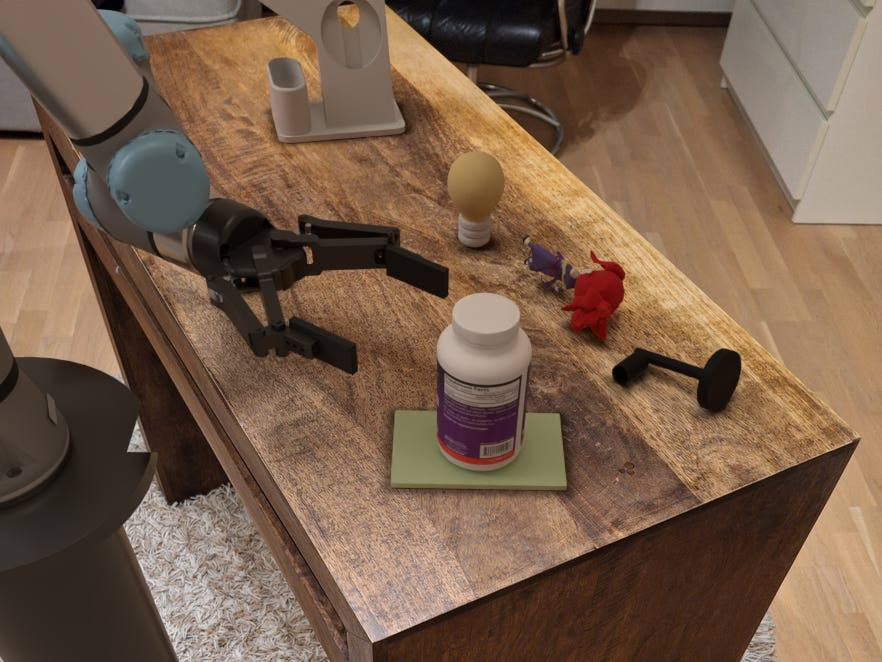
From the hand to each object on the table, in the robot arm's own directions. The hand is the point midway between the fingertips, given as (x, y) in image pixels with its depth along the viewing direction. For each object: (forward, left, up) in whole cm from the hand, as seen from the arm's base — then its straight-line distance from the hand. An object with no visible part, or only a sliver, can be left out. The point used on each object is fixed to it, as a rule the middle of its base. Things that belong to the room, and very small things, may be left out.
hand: (402, 320), depth 78 cm
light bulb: (+7, +32, -11) cm, 35 cm away
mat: (+7, -4, -11) cm, 14 cm away
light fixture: (+25, +4, -11) cm, 28 cm away
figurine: (+17, +19, -11) cm, 28 cm away
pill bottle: (+7, -4, -11) cm, 13 cm away
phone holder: (-11, +61, -11) cm, 63 cm away
